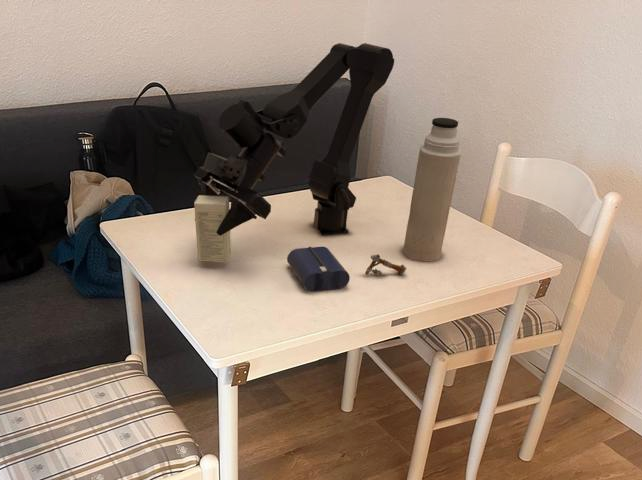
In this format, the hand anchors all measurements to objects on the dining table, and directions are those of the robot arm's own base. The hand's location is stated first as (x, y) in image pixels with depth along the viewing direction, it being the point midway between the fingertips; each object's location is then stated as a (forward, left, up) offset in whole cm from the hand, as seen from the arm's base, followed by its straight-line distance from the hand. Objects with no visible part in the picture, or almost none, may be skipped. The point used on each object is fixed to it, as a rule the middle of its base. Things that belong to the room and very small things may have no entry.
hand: (207, 227), depth 131 cm
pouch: (-20, +9, -8) cm, 24 cm away
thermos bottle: (-46, +3, -8) cm, 47 cm away
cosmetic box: (-1, -1, -7) cm, 7 cm away
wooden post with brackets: (-34, +11, -8) cm, 37 cm away
